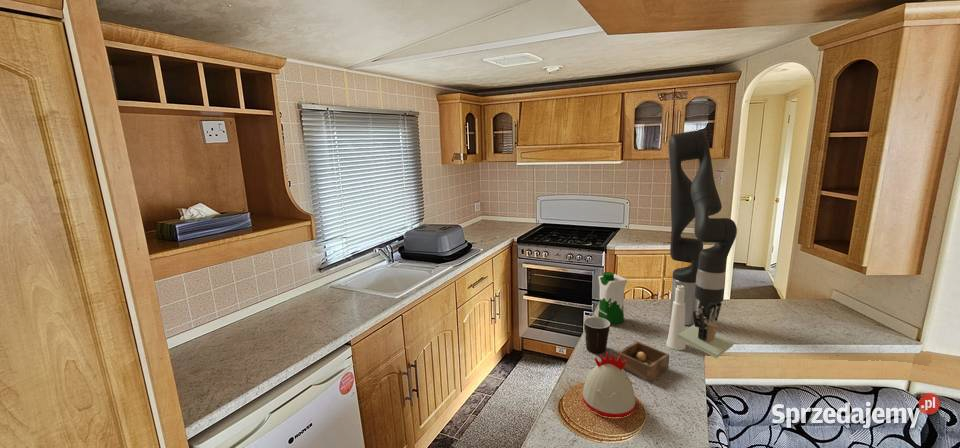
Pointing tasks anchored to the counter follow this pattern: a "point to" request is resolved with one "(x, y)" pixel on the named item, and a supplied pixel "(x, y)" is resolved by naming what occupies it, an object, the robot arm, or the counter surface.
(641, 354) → the ball
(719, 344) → the lid
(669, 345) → the cosmetic bottle
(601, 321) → the coffee mug
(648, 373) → the box
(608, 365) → the cream dome
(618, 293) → the milk carton
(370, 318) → the counter surface
